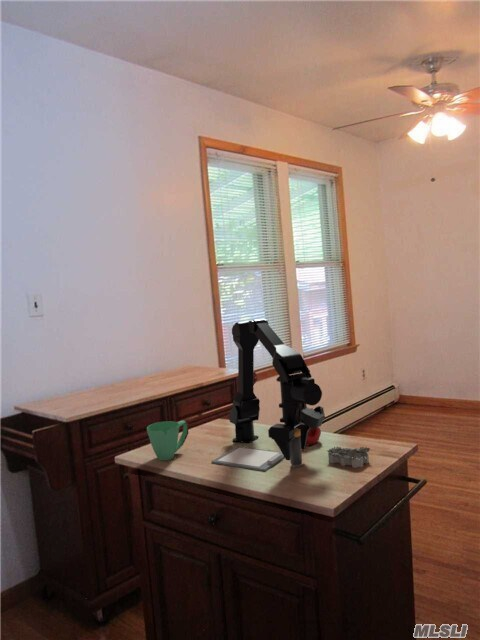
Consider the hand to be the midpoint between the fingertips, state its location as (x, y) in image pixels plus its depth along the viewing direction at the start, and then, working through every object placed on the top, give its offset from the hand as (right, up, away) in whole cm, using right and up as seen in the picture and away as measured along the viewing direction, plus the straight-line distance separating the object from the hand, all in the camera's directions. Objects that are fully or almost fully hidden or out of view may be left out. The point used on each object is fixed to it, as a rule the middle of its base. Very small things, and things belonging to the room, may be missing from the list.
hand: (295, 454), depth 136 cm
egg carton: (+15, -2, 0) cm, 15 cm away
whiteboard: (-12, -4, +8) cm, 15 cm away
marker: (0, -3, 0) cm, 3 cm away
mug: (-37, -5, +17) cm, 41 cm away
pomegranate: (+5, -2, +19) cm, 20 cm away
